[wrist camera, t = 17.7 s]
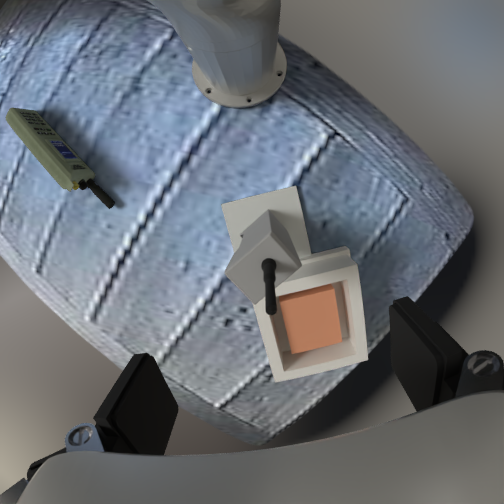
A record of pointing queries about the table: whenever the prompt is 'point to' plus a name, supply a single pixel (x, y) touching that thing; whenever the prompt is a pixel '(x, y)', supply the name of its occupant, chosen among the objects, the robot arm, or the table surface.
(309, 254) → the light gray square panel
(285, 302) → the button
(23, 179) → the table surface
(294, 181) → the table surface
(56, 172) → the handheld radio
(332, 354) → the frame
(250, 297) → the vintage mobile phone
